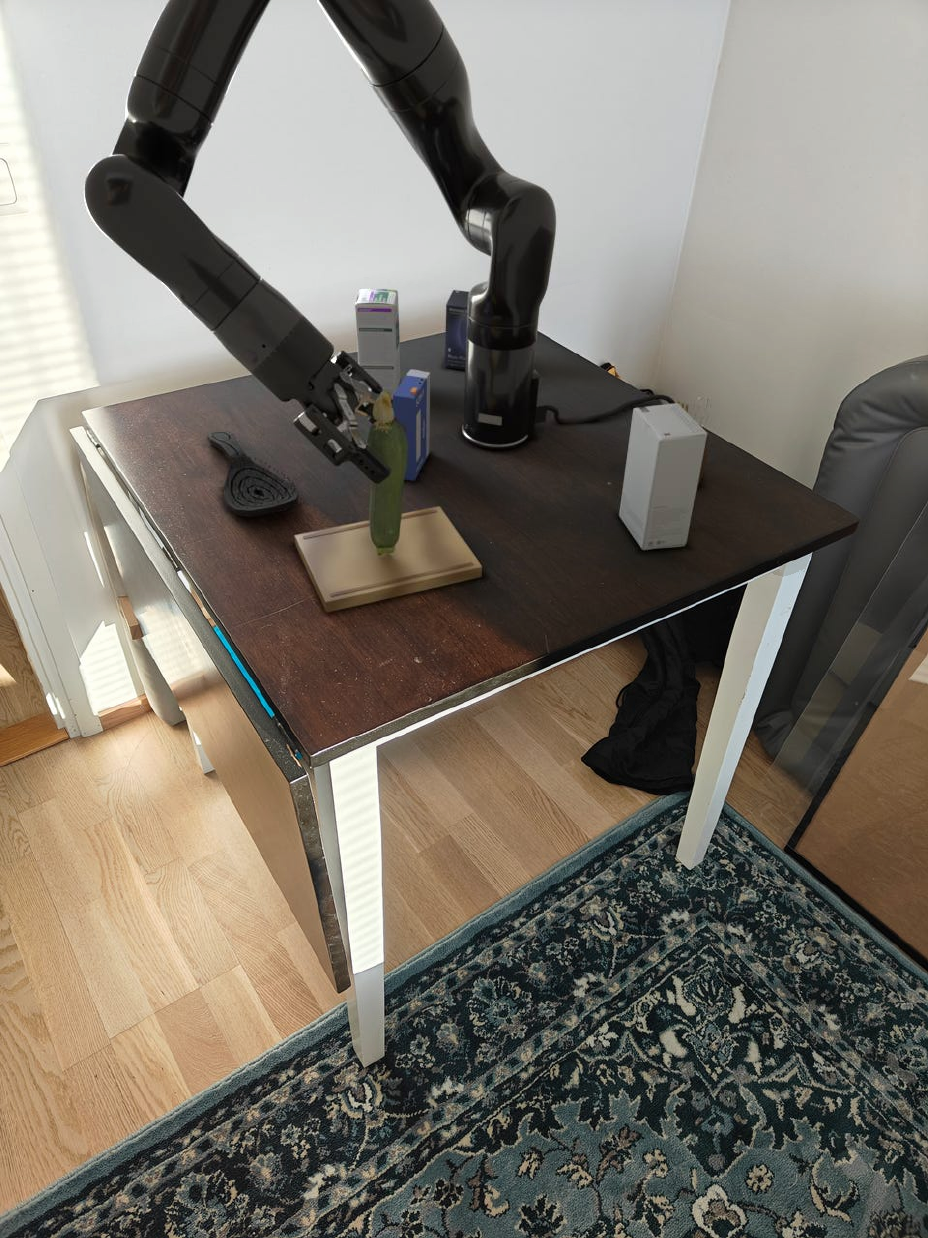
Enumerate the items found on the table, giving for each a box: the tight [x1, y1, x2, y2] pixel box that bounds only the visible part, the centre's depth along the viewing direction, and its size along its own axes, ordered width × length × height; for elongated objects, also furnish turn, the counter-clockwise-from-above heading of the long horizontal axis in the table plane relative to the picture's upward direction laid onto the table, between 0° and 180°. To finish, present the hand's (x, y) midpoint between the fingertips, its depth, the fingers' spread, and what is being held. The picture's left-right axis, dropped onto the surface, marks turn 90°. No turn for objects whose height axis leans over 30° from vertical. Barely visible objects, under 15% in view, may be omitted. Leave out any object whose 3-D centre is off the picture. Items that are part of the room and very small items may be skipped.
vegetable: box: [365, 392, 408, 557], centre depth 92 cm, size 4×4×20 cm
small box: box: [444, 289, 470, 371], centre depth 137 cm, size 11×6×10 cm, turn 80°
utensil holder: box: [676, 396, 712, 484], centre depth 111 cm, size 6×6×12 cm
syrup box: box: [354, 288, 402, 400], centre depth 127 cm, size 6×6×14 cm
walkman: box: [392, 368, 431, 482], centre depth 112 cm, size 8×3×12 cm, turn 167°
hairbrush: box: [206, 429, 299, 518], centre depth 111 cm, size 8×4×25 cm
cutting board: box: [294, 505, 483, 614], centre depth 99 cm, size 18×13×2 cm
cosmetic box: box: [618, 402, 709, 551], centre depth 101 cm, size 8×6×15 cm
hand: (393, 456), depth 90 cm, fingers open, 8 cm apart
